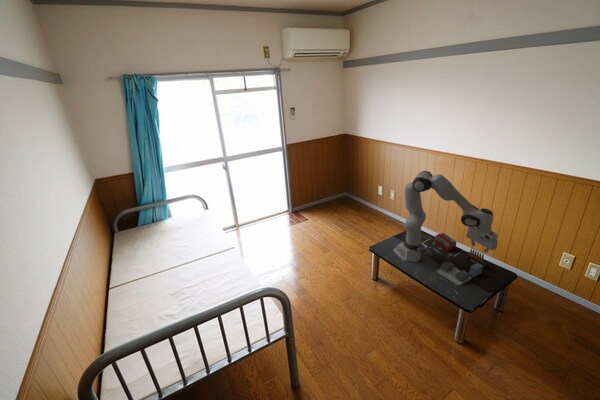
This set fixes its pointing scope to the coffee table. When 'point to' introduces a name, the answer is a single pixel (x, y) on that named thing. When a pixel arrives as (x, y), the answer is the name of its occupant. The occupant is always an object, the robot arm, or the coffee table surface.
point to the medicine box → (445, 242)
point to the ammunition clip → (475, 257)
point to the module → (475, 269)
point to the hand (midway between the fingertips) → (479, 248)
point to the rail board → (453, 273)
